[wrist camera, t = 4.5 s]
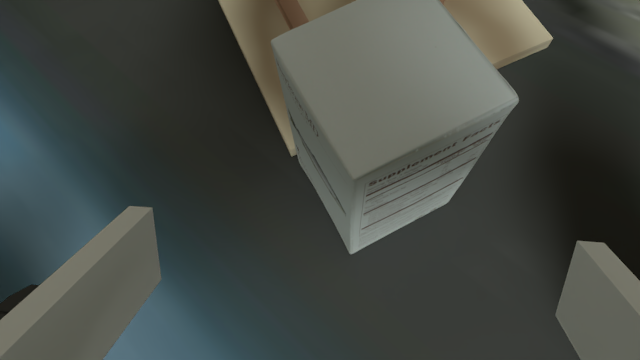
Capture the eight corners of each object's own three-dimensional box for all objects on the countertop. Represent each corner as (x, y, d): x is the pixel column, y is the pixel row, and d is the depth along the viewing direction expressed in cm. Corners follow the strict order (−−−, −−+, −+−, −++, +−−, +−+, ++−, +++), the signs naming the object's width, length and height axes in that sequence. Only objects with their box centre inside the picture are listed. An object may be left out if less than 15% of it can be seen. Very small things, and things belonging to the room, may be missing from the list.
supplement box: (296, 162, 30) (263, 33, 18) (392, 115, 31) (421, -36, 19) (348, 259, 27) (349, 183, 15) (452, 206, 28) (528, 95, 16)
